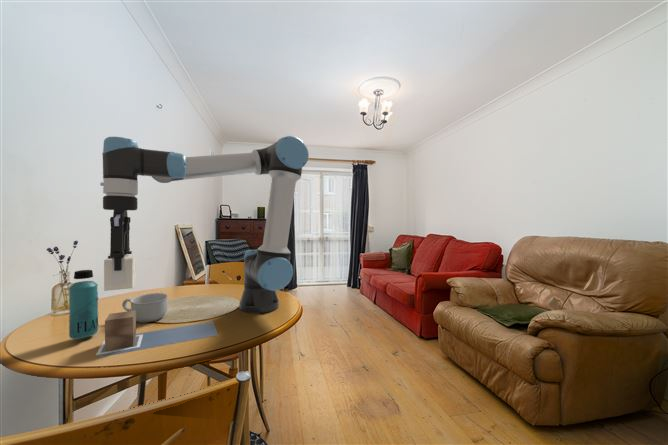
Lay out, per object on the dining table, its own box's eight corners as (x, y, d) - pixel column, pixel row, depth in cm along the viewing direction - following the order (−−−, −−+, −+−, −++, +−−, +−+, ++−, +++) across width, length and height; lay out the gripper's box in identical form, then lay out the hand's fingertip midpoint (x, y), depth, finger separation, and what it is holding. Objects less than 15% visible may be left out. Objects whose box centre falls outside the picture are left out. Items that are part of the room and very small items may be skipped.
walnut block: (135, 337, 81) (135, 310, 81) (133, 346, 76) (133, 316, 76) (109, 342, 78) (109, 313, 78) (105, 351, 73) (104, 320, 73)
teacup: (174, 315, 101) (174, 293, 101) (152, 327, 90) (152, 302, 90) (139, 313, 102) (139, 292, 102) (112, 325, 92) (112, 300, 91)
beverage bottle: (73, 346, 76) (72, 273, 76) (64, 340, 80) (64, 270, 79) (102, 338, 82) (102, 269, 81) (93, 332, 85) (93, 267, 85)
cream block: (135, 283, 81) (135, 256, 81) (132, 288, 75) (132, 258, 75) (108, 286, 78) (108, 257, 78) (104, 290, 73) (104, 260, 72)
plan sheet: (212, 322, 94) (212, 321, 94) (217, 336, 83) (217, 334, 83) (105, 340, 80) (105, 338, 80) (93, 359, 69) (93, 357, 69)
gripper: (110, 197, 83) (110, 275, 83) (94, 192, 66) (94, 289, 67) (141, 198, 86) (140, 272, 87) (133, 193, 70) (132, 286, 70)
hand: (120, 279), depth 77 cm, fingers closed on cream block, 6 cm apart
